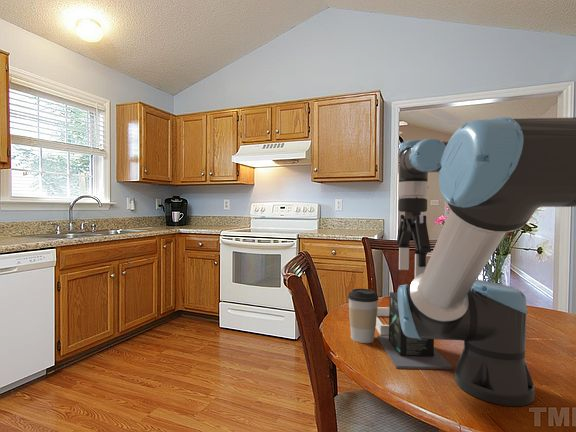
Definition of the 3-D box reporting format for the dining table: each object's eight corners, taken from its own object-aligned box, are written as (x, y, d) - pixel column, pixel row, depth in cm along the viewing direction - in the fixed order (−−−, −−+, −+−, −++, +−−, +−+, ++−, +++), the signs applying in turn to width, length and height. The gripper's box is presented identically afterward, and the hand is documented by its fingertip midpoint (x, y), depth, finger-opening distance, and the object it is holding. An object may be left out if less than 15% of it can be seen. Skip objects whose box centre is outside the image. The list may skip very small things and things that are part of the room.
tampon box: (434, 357, 89) (435, 302, 89) (399, 356, 89) (400, 301, 89) (419, 340, 100) (420, 291, 100) (388, 340, 100) (388, 291, 100)
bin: (435, 336, 105) (435, 326, 105) (380, 335, 106) (380, 325, 106) (413, 315, 125) (413, 307, 125) (367, 315, 126) (367, 307, 126)
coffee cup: (354, 331, 109) (355, 285, 109) (382, 337, 104) (382, 289, 104) (342, 339, 102) (343, 290, 102) (371, 347, 97) (371, 295, 96)
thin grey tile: (453, 369, 84) (453, 367, 84) (396, 368, 84) (396, 365, 84) (423, 338, 104) (423, 336, 104) (377, 337, 104) (377, 335, 104)
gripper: (446, 196, 81) (444, 284, 81) (411, 199, 106) (410, 266, 106) (414, 195, 81) (413, 283, 82) (387, 199, 106) (386, 266, 107)
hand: (411, 274), depth 94 cm, fingers open, 13 cm apart
